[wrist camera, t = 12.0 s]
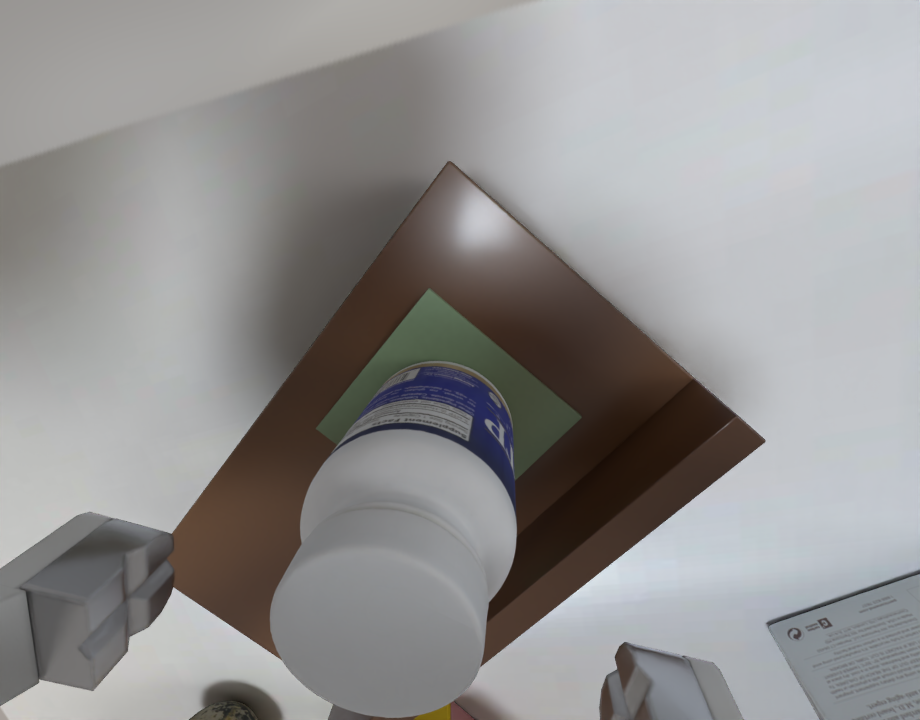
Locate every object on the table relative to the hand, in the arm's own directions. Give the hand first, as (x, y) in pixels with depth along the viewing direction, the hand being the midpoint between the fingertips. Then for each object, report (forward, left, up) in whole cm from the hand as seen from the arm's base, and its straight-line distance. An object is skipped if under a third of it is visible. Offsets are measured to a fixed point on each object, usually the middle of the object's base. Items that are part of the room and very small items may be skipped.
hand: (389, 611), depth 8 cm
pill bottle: (0, -1, -9) cm, 9 cm away
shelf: (+1, -5, -15) cm, 16 cm away
